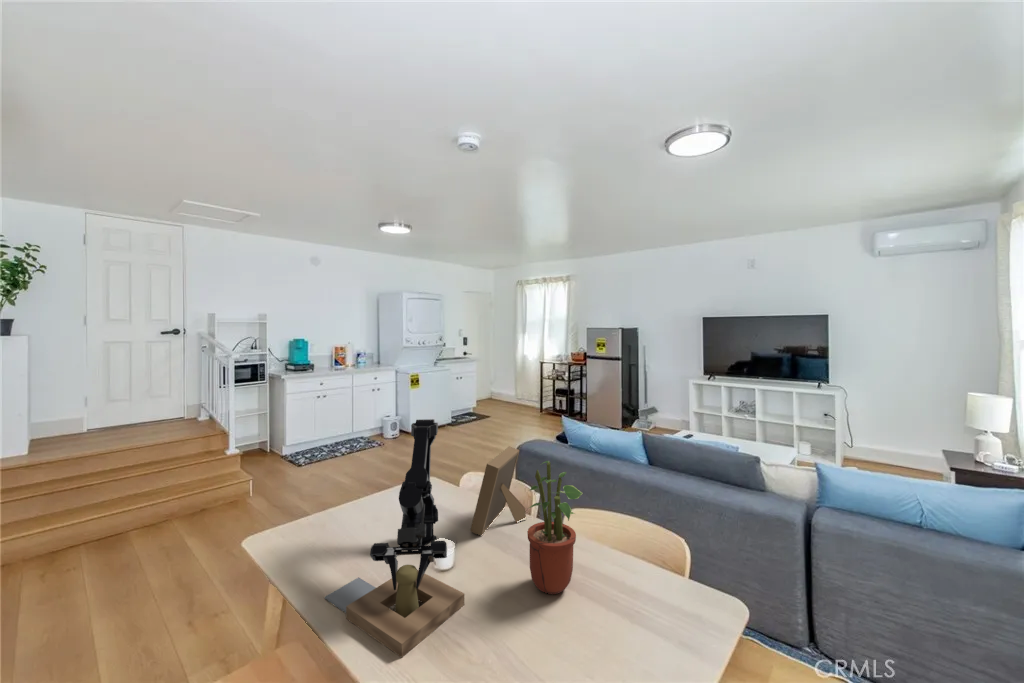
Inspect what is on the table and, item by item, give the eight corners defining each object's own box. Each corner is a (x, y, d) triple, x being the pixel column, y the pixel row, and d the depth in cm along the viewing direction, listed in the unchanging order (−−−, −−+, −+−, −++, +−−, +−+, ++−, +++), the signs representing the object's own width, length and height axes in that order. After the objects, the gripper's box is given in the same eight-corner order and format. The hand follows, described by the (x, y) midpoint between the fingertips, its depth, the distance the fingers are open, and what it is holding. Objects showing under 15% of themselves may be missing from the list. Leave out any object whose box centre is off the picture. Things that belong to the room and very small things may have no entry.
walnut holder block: (410, 576, 113) (410, 566, 113) (464, 605, 102) (464, 593, 102) (346, 618, 97) (346, 606, 97) (401, 657, 85) (401, 643, 85)
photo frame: (469, 534, 137) (471, 461, 136) (494, 507, 157) (495, 444, 157) (510, 542, 132) (512, 467, 131) (530, 514, 153) (532, 449, 152)
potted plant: (564, 610, 100) (566, 471, 99) (510, 589, 108) (511, 460, 107) (587, 573, 116) (589, 452, 115) (538, 557, 123) (539, 444, 122)
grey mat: (358, 579, 112) (358, 577, 112) (381, 592, 106) (381, 590, 106) (324, 598, 104) (324, 596, 104) (347, 614, 98) (347, 612, 98)
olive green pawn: (412, 622, 96) (412, 576, 95) (389, 618, 97) (389, 573, 97) (423, 605, 102) (423, 562, 101) (401, 601, 103) (401, 559, 103)
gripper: (371, 512, 102) (359, 582, 91) (446, 510, 103) (443, 578, 93) (379, 527, 110) (368, 594, 99) (448, 525, 111) (445, 590, 101)
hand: (405, 589), depth 98 cm, fingers closed on olive green pawn, 5 cm apart
